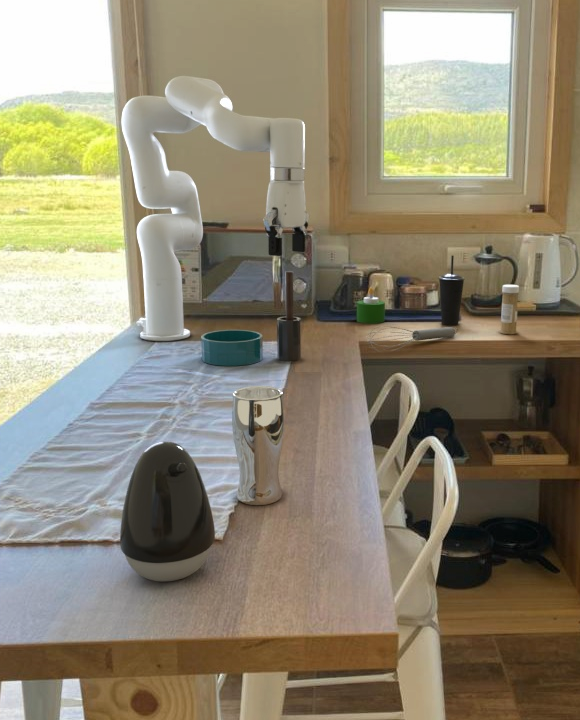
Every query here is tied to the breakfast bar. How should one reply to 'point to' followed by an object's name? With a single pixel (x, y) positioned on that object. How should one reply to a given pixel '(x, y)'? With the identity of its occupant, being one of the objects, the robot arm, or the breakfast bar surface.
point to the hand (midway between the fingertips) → (287, 253)
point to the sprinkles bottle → (509, 309)
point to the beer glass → (258, 442)
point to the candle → (370, 309)
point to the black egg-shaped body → (166, 515)
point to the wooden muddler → (289, 295)
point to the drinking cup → (450, 296)
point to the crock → (288, 339)
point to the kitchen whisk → (420, 335)
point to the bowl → (232, 347)
